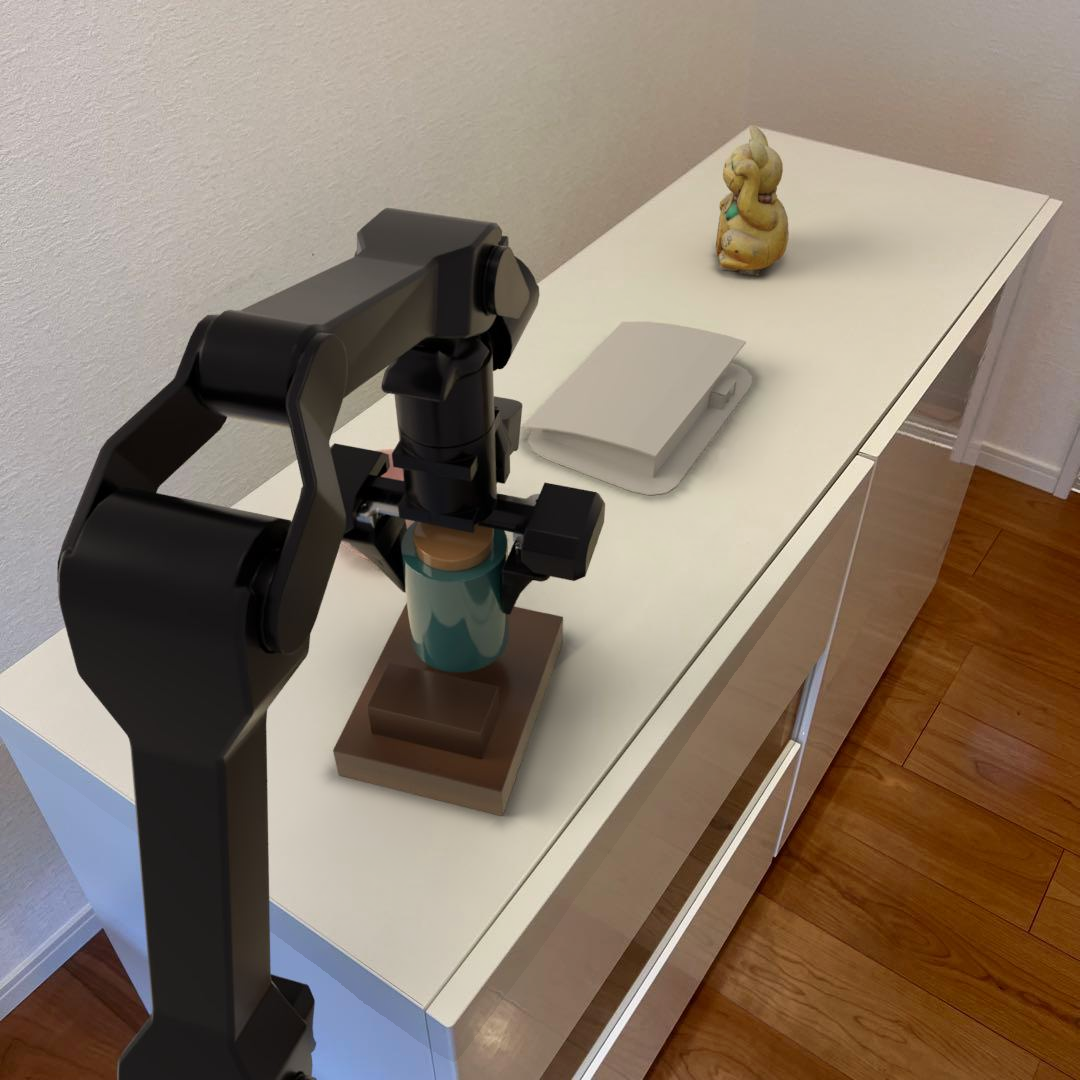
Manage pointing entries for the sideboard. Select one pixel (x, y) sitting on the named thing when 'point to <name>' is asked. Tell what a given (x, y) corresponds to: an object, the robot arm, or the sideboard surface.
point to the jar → (455, 595)
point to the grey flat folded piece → (642, 405)
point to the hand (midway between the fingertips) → (458, 598)
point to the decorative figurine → (752, 209)
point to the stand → (451, 717)
